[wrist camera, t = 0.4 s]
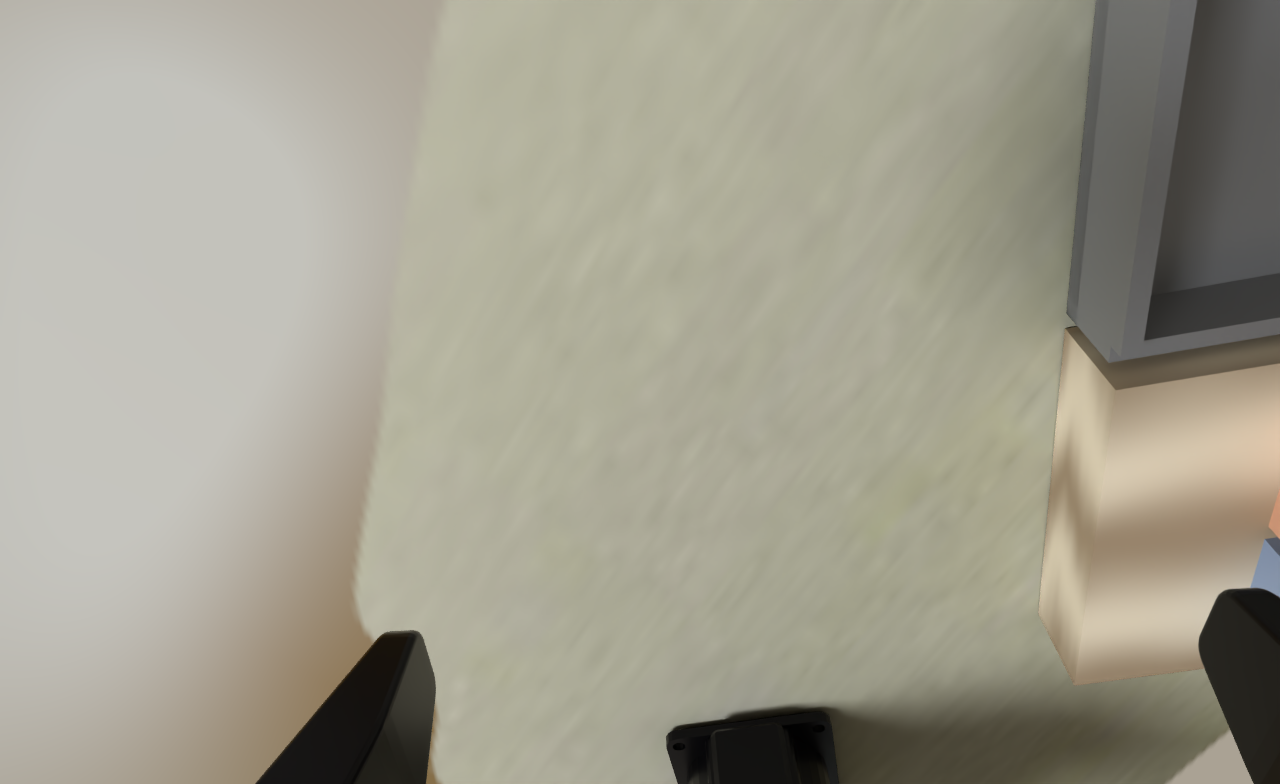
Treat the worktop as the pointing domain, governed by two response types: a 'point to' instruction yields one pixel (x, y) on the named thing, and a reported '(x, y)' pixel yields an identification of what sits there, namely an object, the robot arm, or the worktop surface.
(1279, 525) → the terracotta tile
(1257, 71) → the charcoal tray
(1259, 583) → the blue-glazed tile
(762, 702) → the worktop surface
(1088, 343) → the birch board
